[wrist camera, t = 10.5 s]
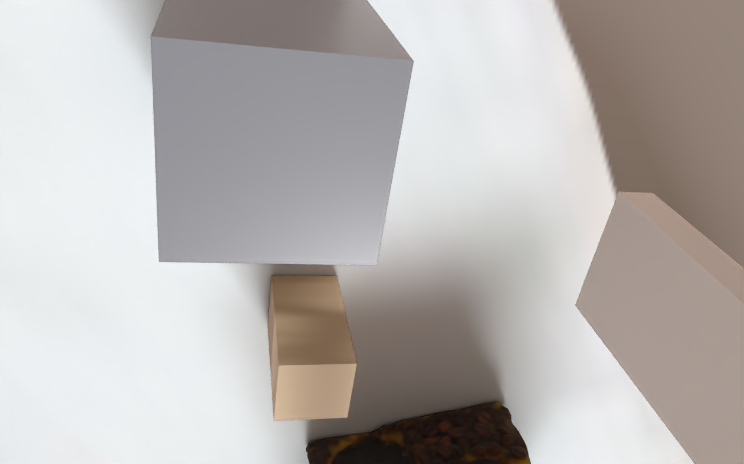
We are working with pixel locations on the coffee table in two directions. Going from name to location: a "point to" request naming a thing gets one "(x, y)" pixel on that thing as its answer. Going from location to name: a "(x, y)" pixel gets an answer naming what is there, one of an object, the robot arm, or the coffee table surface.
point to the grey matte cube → (275, 130)
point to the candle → (431, 441)
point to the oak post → (309, 348)
